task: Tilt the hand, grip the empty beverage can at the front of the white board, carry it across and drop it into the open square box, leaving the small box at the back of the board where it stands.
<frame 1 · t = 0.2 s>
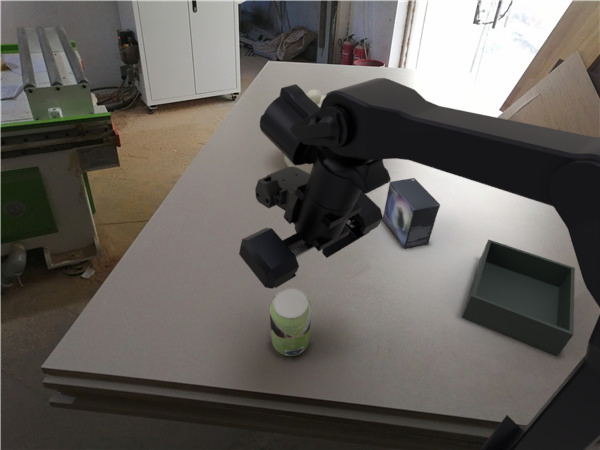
hand: (300, 269, 55), 16 cm above the table, tool tilted 15°, fingers open, 9 cm apart
small box: (403, 232, 89), on the table
open square box: (513, 302, 74), on the table
beverage can: (289, 346, 65), on the table
canister: (309, 167, 110), on the table
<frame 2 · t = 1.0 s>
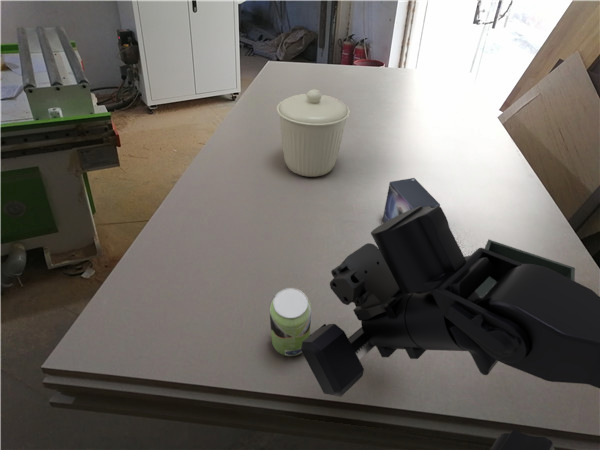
hand: (333, 324, 52), 13 cm above the table, tool tilted 45°, fingers open, 9 cm apart
nothing on the table moved.
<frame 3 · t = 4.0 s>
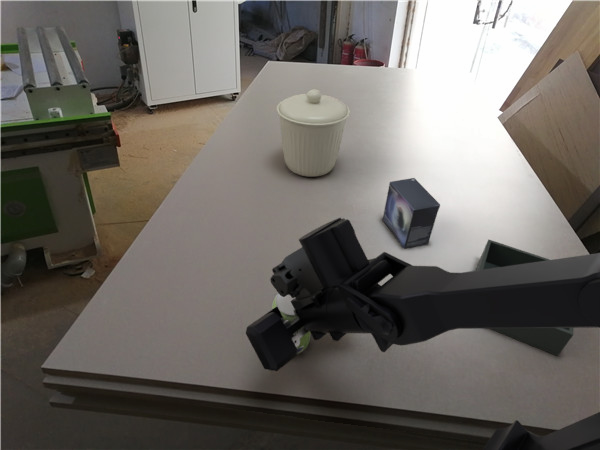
hand: (282, 313, 61), 7 cm above the table, tool tilted 45°, fingers closed on beverage can, 6 cm apart
beverage can: (289, 345, 65), on the table, touching gripper
everything else where it was.
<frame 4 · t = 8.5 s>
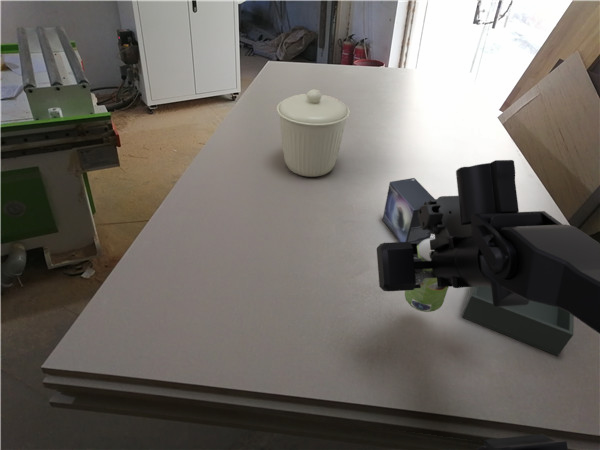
hand: (423, 265, 61), 13 cm above the table, tool tilted 45°, fingers closed on beverage can, 6 cm apart
beverage can: (419, 303, 64), point 6 cm above the table, touching gripper
everything else where it was.
when the fingers open (8 cm above the table, at t = 12.9 s): beverage can moves 1 cm, resting on open square box.
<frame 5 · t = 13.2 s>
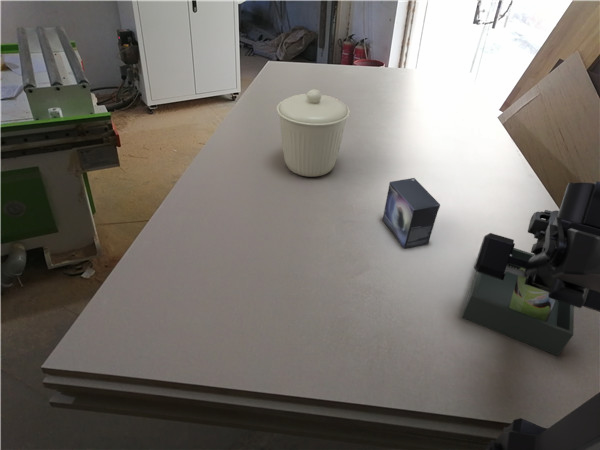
hand: (531, 275, 67), 9 cm above the table, tool tilted 45°, fingers open, 8 cm apart
beverage can: (522, 317, 71), point 1 cm above the table, touching open square box
everything else where it was.
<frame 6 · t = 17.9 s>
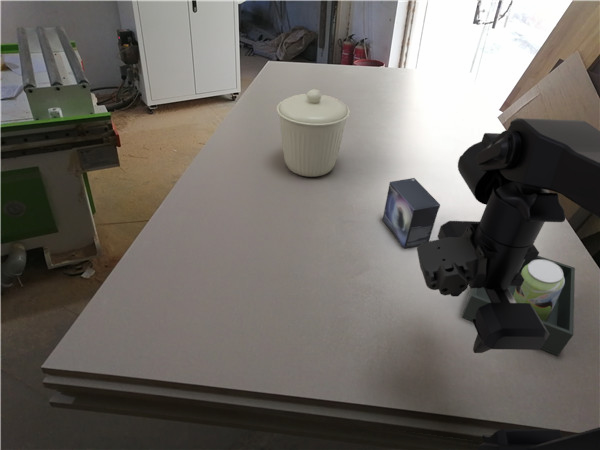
hand: (465, 321, 54), 13 cm above the table, tool pointing down, fingers open, 9 cm apart
nothing on the table moved.
at the end: beverage can inside the target area in the open square box (3.9 cm from its centre), point 0.4 cm above the open square box's base; beverage can 28.5 cm from the small box (horizontally); small box moved 0.2 cm from its start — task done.
